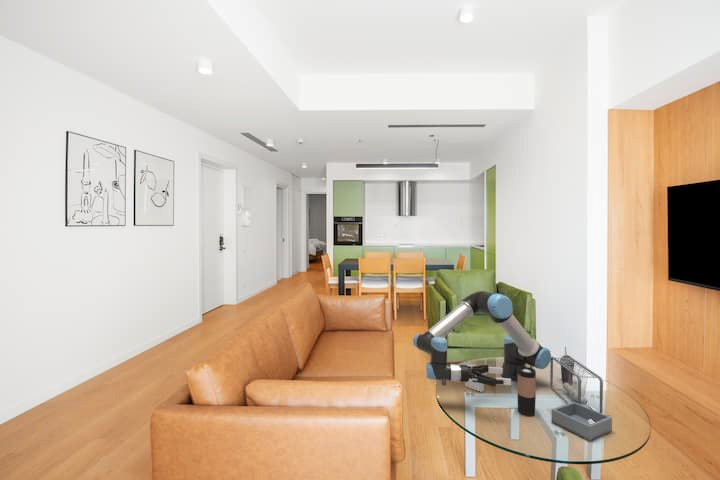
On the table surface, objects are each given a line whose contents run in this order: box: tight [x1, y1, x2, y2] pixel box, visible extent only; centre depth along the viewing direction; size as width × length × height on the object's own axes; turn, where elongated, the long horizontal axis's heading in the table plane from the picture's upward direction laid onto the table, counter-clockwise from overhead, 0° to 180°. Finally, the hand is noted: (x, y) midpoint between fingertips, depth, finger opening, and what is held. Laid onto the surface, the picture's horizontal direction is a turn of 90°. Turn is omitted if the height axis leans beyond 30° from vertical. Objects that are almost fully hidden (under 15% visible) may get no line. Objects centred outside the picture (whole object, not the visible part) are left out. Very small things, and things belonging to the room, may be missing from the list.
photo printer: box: [464, 364, 485, 393], centre depth 188 cm, size 10×4×12 cm, turn 38°
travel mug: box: [516, 366, 537, 418], centre depth 162 cm, size 8×8×20 cm
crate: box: [550, 401, 613, 443], centre depth 150 cm, size 16×16×6 cm
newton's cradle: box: [549, 356, 604, 414], centre depth 174 cm, size 30×10×18 cm, turn 174°
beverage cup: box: [559, 346, 575, 384], centre depth 196 cm, size 7×7×20 cm
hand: (506, 376), depth 163 cm, fingers open, 13 cm apart
